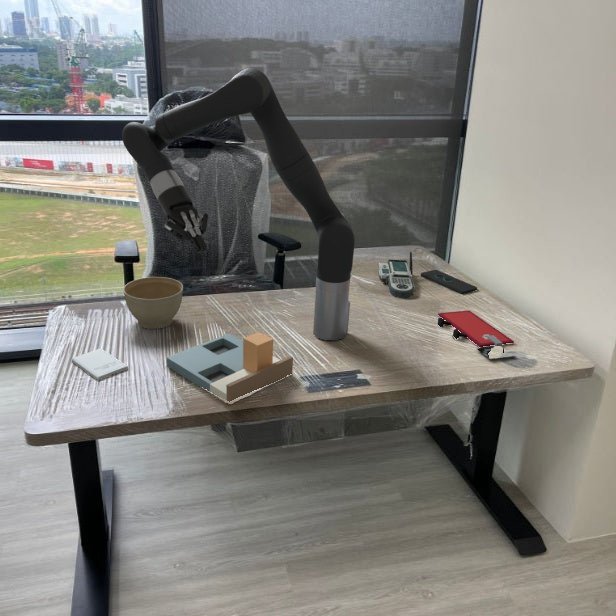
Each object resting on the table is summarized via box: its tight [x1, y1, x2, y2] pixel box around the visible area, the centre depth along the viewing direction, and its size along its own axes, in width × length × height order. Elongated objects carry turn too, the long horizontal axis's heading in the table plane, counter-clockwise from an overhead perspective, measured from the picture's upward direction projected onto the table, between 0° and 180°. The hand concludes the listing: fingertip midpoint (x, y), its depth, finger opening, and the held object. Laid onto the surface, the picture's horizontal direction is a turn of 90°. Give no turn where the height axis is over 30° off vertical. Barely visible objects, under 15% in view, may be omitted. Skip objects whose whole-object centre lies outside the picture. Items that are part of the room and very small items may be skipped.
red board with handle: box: [437, 310, 515, 359], centre depth 173 cm, size 30×3×15 cm
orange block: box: [242, 331, 274, 373], centre depth 143 cm, size 5×5×8 cm
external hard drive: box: [71, 348, 129, 381], centre depth 148 cm, size 2×8×12 cm
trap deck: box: [166, 333, 294, 402], centre depth 147 cm, size 20×24×5 cm
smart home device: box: [420, 269, 478, 295], centre depth 211 cm, size 8×2×20 cm
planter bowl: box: [123, 276, 184, 330], centre depth 169 cm, size 16×16×11 cm
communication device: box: [377, 251, 416, 299], centre depth 205 cm, size 12×24×9 cm, turn 179°
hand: (202, 251), depth 148 cm, fingers closed
